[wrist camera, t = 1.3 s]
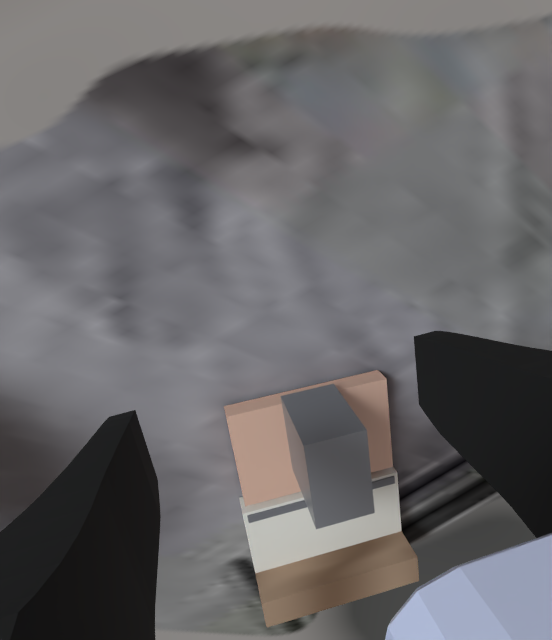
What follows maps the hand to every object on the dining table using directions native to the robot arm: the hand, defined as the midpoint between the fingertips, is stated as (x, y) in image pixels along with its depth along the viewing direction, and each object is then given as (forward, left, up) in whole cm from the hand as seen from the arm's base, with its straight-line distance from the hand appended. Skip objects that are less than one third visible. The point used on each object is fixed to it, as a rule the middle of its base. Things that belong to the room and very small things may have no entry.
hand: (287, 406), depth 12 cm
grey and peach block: (-2, +7, -9) cm, 12 cm away
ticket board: (-2, +13, -10) cm, 16 cm away
